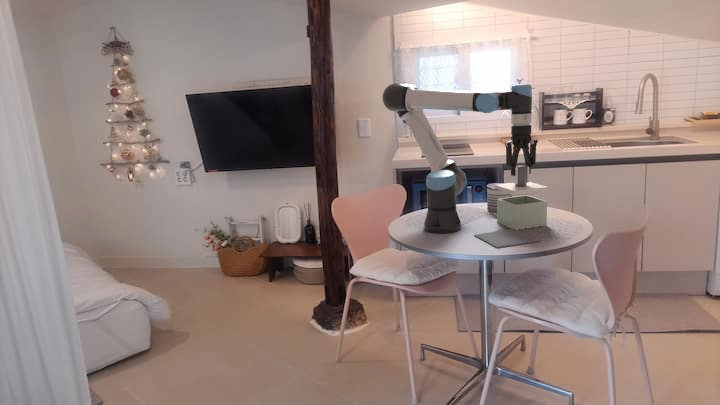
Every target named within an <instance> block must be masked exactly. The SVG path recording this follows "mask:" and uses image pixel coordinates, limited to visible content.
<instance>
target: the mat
mask: <svg viewBox="0 0 720 405" xmlns="http://www.w3.org/2000/svg"><path fill="white" fill-rule="evenodd" d="M474 237H475V238H477V239H479V240H481V241H483V242H485V243H487V244H488V245H490V246H492V247H494V248H496V249H500V248H501V249H502V248H508V247H512V246H513V247H515V246H522V245H526V244H532V243H540V240H539V239H537V238H535V237H533V236H531V235H529V234H526V233H524V232H523V231H520V230H515V229H512V228H508V229H504V230H497V231H490V232H483V233H477V234H474Z"/></svg>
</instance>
